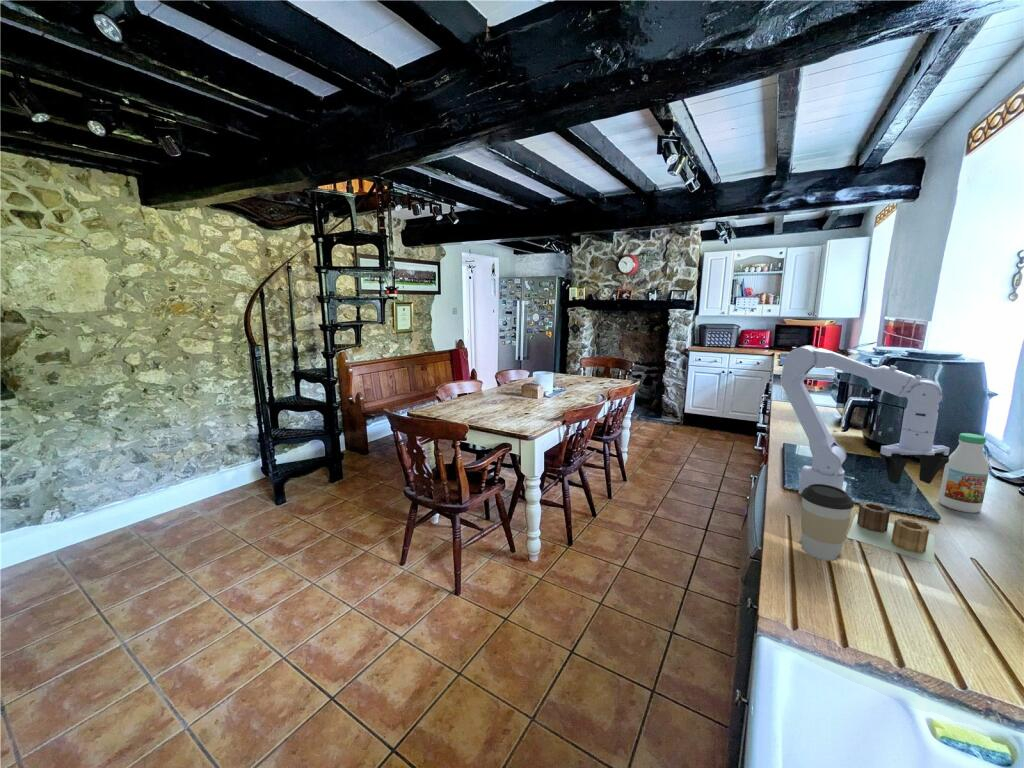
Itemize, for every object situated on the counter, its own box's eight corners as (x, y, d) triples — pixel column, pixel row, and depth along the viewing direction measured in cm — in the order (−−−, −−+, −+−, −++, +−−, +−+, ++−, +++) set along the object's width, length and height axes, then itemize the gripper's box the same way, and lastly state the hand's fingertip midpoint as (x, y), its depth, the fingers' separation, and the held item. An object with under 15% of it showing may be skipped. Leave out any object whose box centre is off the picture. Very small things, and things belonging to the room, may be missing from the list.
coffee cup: (838, 545, 91) (847, 483, 89) (852, 568, 83) (862, 501, 81) (791, 536, 95) (798, 477, 93) (800, 557, 87) (807, 493, 84)
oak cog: (890, 545, 89) (893, 525, 88) (892, 536, 92) (896, 516, 91) (924, 556, 85) (928, 534, 84) (926, 546, 88) (930, 525, 87)
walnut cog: (855, 526, 97) (858, 507, 96) (858, 518, 100) (861, 499, 99) (886, 535, 93) (889, 515, 92) (888, 526, 96) (891, 507, 96)
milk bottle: (929, 500, 111) (942, 431, 107) (955, 499, 111) (968, 430, 108) (963, 514, 103) (977, 440, 100) (989, 512, 104) (1005, 439, 100)
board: (846, 542, 93) (848, 525, 92) (855, 518, 103) (857, 503, 102) (933, 569, 83) (936, 550, 82) (933, 539, 93) (936, 523, 92)
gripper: (902, 435, 93) (894, 489, 95) (967, 434, 93) (956, 488, 95) (876, 426, 100) (868, 477, 102) (936, 425, 99) (926, 476, 102)
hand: (909, 482), depth 99 cm, fingers open, 7 cm apart
